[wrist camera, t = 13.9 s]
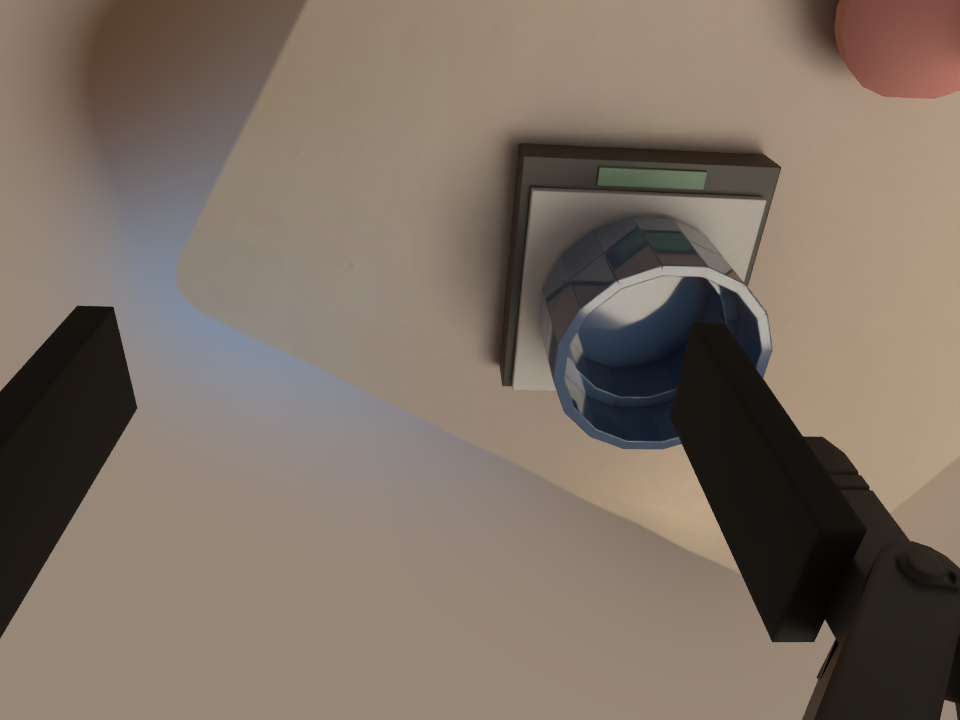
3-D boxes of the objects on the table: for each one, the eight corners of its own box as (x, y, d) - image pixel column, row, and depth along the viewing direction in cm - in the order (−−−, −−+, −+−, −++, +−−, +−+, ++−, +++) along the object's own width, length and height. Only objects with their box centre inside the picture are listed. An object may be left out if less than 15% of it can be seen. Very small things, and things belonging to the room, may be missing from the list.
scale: (518, 143, 41) (524, 158, 38) (765, 154, 42) (786, 170, 39) (499, 366, 49) (502, 391, 46) (707, 371, 50) (721, 396, 47)
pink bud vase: (844, 112, 41) (979, 180, 31) (786, -6, 37) (916, 26, 27) (980, 18, 39) (1174, 58, 28) (931, -117, 35) (1132, -126, 25)
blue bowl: (549, 209, 40) (568, 261, 34) (745, 216, 41) (798, 269, 35) (529, 378, 46) (543, 448, 40) (702, 381, 47) (740, 451, 41)
